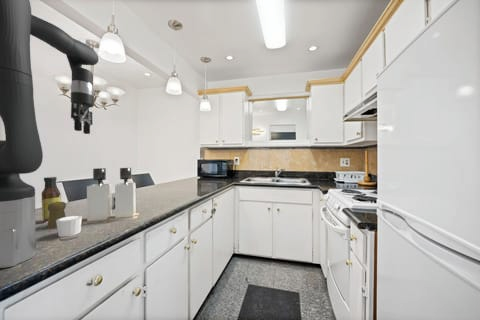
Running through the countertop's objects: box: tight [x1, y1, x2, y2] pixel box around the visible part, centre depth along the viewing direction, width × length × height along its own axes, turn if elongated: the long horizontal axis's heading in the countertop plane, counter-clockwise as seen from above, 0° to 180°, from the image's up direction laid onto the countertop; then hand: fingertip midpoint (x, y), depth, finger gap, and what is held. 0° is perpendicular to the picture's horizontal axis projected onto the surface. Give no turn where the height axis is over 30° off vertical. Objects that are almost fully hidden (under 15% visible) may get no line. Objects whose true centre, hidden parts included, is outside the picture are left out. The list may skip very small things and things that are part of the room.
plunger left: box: [92, 167, 107, 186], centre depth 83 cm, size 5×5×20 cm
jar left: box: [86, 183, 112, 222], centre depth 83 cm, size 7×7×15 cm
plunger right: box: [119, 167, 132, 185], centre depth 86 cm, size 5×5×20 cm
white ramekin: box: [56, 215, 83, 242], centre depth 67 cm, size 7×7×7 cm
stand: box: [81, 211, 140, 225], centre depth 85 cm, size 10×20×2 cm, turn 112°
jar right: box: [114, 182, 137, 219], centre depth 86 cm, size 7×7×15 cm
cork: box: [46, 201, 67, 230], centre depth 74 cm, size 6×6×11 cm
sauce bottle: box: [41, 176, 62, 223], centre depth 85 cm, size 7×6×20 cm
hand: (82, 132), depth 80 cm, fingers open, 8 cm apart
